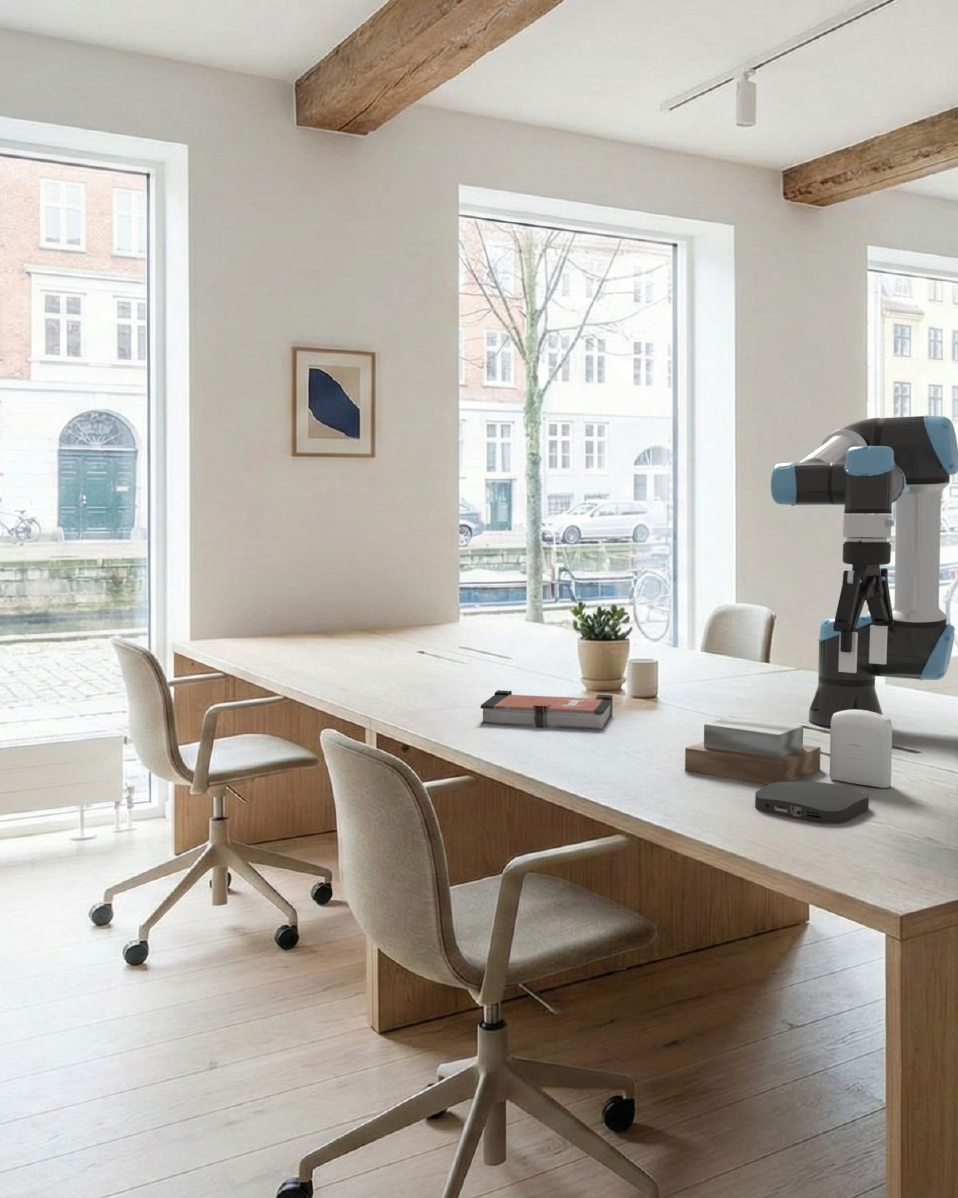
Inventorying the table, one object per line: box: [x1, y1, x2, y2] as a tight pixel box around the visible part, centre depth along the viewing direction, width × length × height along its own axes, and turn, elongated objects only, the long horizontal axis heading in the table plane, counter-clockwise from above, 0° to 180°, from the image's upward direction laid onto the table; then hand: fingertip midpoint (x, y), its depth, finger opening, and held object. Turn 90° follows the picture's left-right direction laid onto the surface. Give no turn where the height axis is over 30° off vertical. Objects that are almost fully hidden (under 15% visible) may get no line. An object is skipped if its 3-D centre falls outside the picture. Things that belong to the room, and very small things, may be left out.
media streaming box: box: [754, 781, 870, 825], centre depth 171 cm, size 15×15×3 cm
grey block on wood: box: [684, 715, 822, 785], centre depth 196 cm, size 16×18×8 cm
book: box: [480, 689, 614, 731], centre depth 242 cm, size 26×18×5 cm
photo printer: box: [829, 710, 893, 789], centre depth 186 cm, size 10×4×12 cm, turn 47°
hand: (862, 668), depth 185 cm, fingers open, 13 cm apart
